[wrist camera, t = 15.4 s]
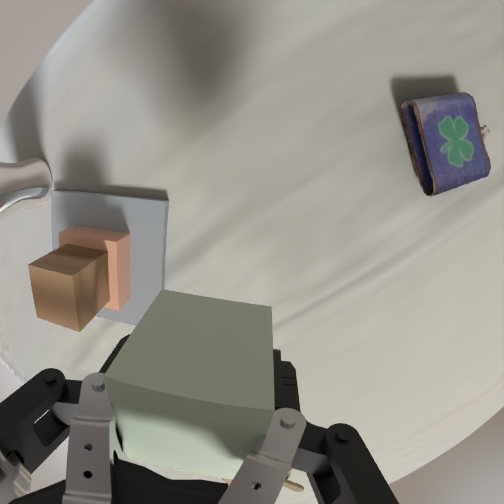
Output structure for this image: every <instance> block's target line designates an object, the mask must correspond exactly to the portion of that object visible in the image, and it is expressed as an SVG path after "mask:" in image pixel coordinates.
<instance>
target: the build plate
mask: <svg viewBox="0 0 504 504" xmlns="http://www.w3.org/2000/svg"><path fill="white" fill-rule="evenodd" d="M168 204H169V200H163V199H154V198H145V197H135V196H125V195H114V194H104V193H92V192H80V191H67V190H54V191H51V220H52V242H53V251H54V250H56V249H58V248H59V247H61V246H63V245H65V244H71V245H76V246H81V247H86V248H92V249H97V250H103V251H108V270H109V290H110V301H109V302H108V303H107V304H106V305H105V306H104V307H103V308H102V309H101V310H100V311H99V312H98V313H97V314H96V315H95V316H99V317H103V318H107V319H111V320H115V321H119V322H123V323H127V324H131V325H135V326H137V324H138V323H139V321H140V320H141V318H142V317H143V315H144V314H145V313H146V311H147V310H148V308H149V307H150V305H151V304H152V302H153V301H154V299H155V298H156V297H157V295H158V294H159V292H160V291H161V289H164V276H165V250H166V232H167V217H168Z"/></svg>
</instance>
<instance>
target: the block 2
mask: <svg viewBox="0 0 504 504" xmlns="http://www.w3.org/2000/svg"><path fill="white" fill-rule="evenodd" d="M104 379H105V383H106V388H107V392H108V396H109V399H110V403H112V404H113V405H114V408H115V412H116V418H115V421H116V424H117V427H118V430H119V433H120V435H121V436H123V438H124V442H125V451H126V454H127V457H129V458H133V459H136V460H139V461H143V462H146V463H150V464H154V465H158V466H161V467H166V468H170V469H174V470H179V471H183V472H188V473H193V474H199V475H205V476H211V477H217V478H225V479H233V478H234V477H235V475H236V473H237V472H238V470H239V468H240V467H241V465H242V463H243V462H244V460H245V458H246V457H247V455H248V453H249V452H250V451H252V450H253V448H254V446H255V444H256V443H257V441H258V439H259V437H260V435H261V434H267V432H268V429H269V426H270V423H271V420H272V417H273V414H274V410H275V404H274V367H273V336H272V309H271V307H270V306H263V305H256V304H249V303H242V302H235V301H229V300H223V299H216V298H210V297H204V296H198V295H192V294H186V293H181V292H175V291H169V290H164V289H161V291H160V292H159V294H158V295H157V297H156V298H155V299H154V301H153V302H152V304H151V305H150V307H149V308H148V310H147V311H146V313H145V314H144V315H143V317H142V318H141V320H140V321H139V323H138V324H137V326H136V327H135V329H134V330H133V332H132V333H131V335H130V336H129V338H128V339H127V341H126V342H125V344H124V345H123V347H122V348H121V350H120V351H119V353H118V354H117V356H116V358H115V359H114V361H113V362H112V364H111V365H110V367H109V368H108V370H107V372H106V373H105V375H104Z"/></svg>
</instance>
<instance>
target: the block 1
mask: <svg viewBox="0 0 504 504" xmlns="http://www.w3.org/2000/svg"><path fill="white" fill-rule="evenodd" d="M29 273H30V280H31V286H32V292H33V298H34V303H35V308H36V313H37V317H38V318H41V319H44V320H46V321H49V322H52V323H55V324H58V325H61V326H63V327H66V328H69V329H72V330H75V331H79V332H80V331H81V330H82V329H83V328H84V327H85V326H86V325H87V324H88V323H89V322H90V321H91V320H92V318H93V317H94V316H95V315H96V314H97V313H98V312H99V311H100V310H101V309H102V308H103V307H104V306H105V305H106V304H107V303H108V302H109V301H110V290H109V270H108V251H103V250H97V249H92V248H86V247H81V246H76V245H71V244H65V245H63V246H61V247H59V248H58V249H56V250H54V251H52V252H50V253H48V254H47V255H45V256H43V257H41V258H39V259H38V260H36V261H34V262H32V263H31V264H29Z"/></svg>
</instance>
